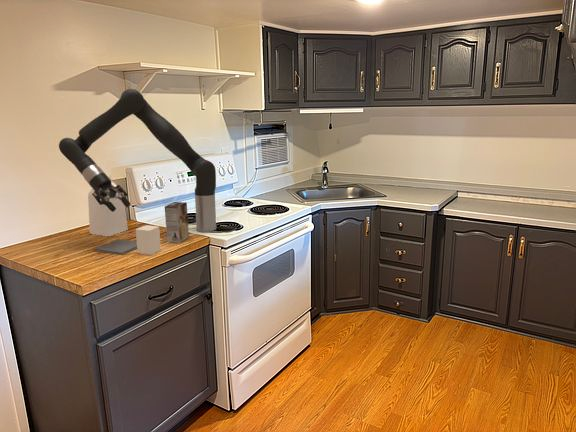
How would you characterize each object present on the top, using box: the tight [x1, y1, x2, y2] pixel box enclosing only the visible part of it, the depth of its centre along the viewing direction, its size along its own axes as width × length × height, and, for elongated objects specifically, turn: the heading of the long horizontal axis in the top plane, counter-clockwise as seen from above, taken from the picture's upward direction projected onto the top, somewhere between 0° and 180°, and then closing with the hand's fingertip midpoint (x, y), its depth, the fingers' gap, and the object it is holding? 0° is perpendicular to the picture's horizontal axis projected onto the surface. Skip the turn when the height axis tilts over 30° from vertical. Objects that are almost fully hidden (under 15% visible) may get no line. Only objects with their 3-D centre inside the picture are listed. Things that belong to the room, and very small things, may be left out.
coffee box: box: [164, 201, 190, 244], centre depth 193 cm, size 9×6×16 cm
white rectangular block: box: [135, 224, 162, 256], centre depth 177 cm, size 6×6×10 cm
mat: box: [94, 238, 137, 256], centre depth 183 cm, size 14×14×1 cm
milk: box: [87, 175, 129, 237], centre depth 203 cm, size 12×12×26 cm
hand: (121, 208), depth 178 cm, fingers open, 8 cm apart
